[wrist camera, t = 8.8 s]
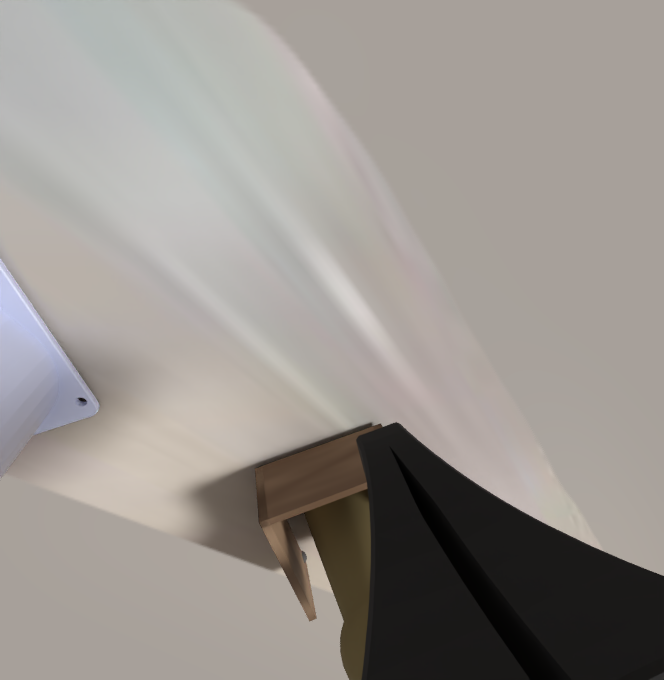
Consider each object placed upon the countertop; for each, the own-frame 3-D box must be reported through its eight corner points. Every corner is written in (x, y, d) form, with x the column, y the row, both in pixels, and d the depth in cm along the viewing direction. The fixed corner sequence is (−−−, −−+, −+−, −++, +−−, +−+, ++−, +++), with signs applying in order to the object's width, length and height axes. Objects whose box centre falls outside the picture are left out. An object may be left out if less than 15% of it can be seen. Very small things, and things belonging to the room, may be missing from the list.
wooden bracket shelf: (250, 465, 23) (254, 524, 20) (382, 419, 24) (409, 466, 21) (296, 561, 29) (306, 622, 25) (402, 519, 30) (428, 572, 26)
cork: (368, 526, 29) (436, 705, 19) (295, 530, 27) (329, 731, 18) (390, 468, 27) (479, 638, 17) (312, 468, 25) (362, 660, 15)
